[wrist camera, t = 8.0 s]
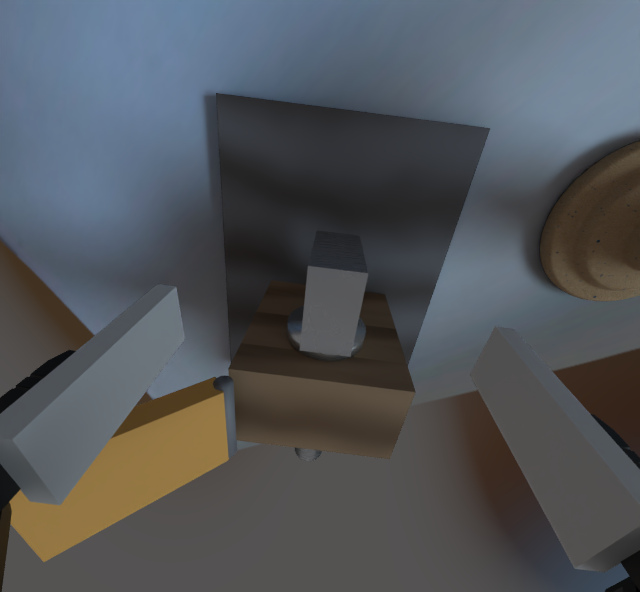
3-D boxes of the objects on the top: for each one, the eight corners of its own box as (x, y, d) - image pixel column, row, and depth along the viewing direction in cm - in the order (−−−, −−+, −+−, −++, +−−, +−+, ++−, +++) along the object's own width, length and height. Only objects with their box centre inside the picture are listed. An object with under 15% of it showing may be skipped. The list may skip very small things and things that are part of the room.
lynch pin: (299, 228, 18) (284, 262, 13) (376, 237, 18) (392, 276, 13) (285, 414, 27) (272, 480, 22) (337, 420, 27) (337, 488, 22)
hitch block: (221, 95, 19) (80, 37, 9) (483, 129, 19) (659, 111, 9) (234, 362, 31) (179, 476, 20) (397, 382, 31) (428, 507, 20)
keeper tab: (-11, 460, 10) (-18, 491, 9) (228, 371, 15) (237, 386, 14) (45, 533, 13) (43, 562, 12) (232, 438, 18) (240, 453, 17)
